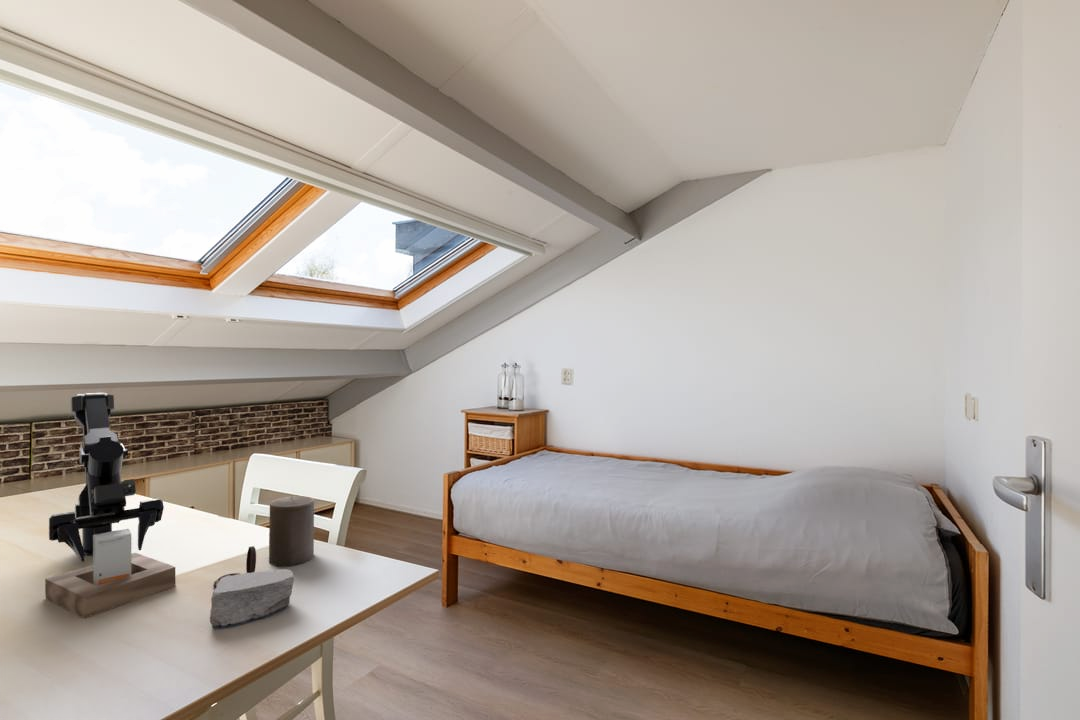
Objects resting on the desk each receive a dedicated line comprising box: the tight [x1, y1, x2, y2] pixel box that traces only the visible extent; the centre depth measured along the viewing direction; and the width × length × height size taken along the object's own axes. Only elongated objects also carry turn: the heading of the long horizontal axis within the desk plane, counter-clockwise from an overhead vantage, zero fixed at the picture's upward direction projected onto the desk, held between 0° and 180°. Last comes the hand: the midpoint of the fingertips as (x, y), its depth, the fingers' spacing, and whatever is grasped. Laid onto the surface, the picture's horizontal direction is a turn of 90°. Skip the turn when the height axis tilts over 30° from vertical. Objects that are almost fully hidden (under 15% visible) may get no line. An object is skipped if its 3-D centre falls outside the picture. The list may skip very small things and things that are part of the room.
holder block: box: [44, 552, 176, 619], centre depth 114 cm, size 16×16×4 cm
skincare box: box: [92, 528, 132, 586], centre depth 114 cm, size 6×4×12 cm
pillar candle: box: [268, 495, 315, 567], centre depth 133 cm, size 10×10×15 cm
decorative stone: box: [209, 568, 295, 629], centre depth 106 cm, size 15×7×10 cm
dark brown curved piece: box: [212, 545, 257, 589], centre depth 118 cm, size 8×8×7 cm
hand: (112, 554), depth 113 cm, fingers open, 9 cm apart
